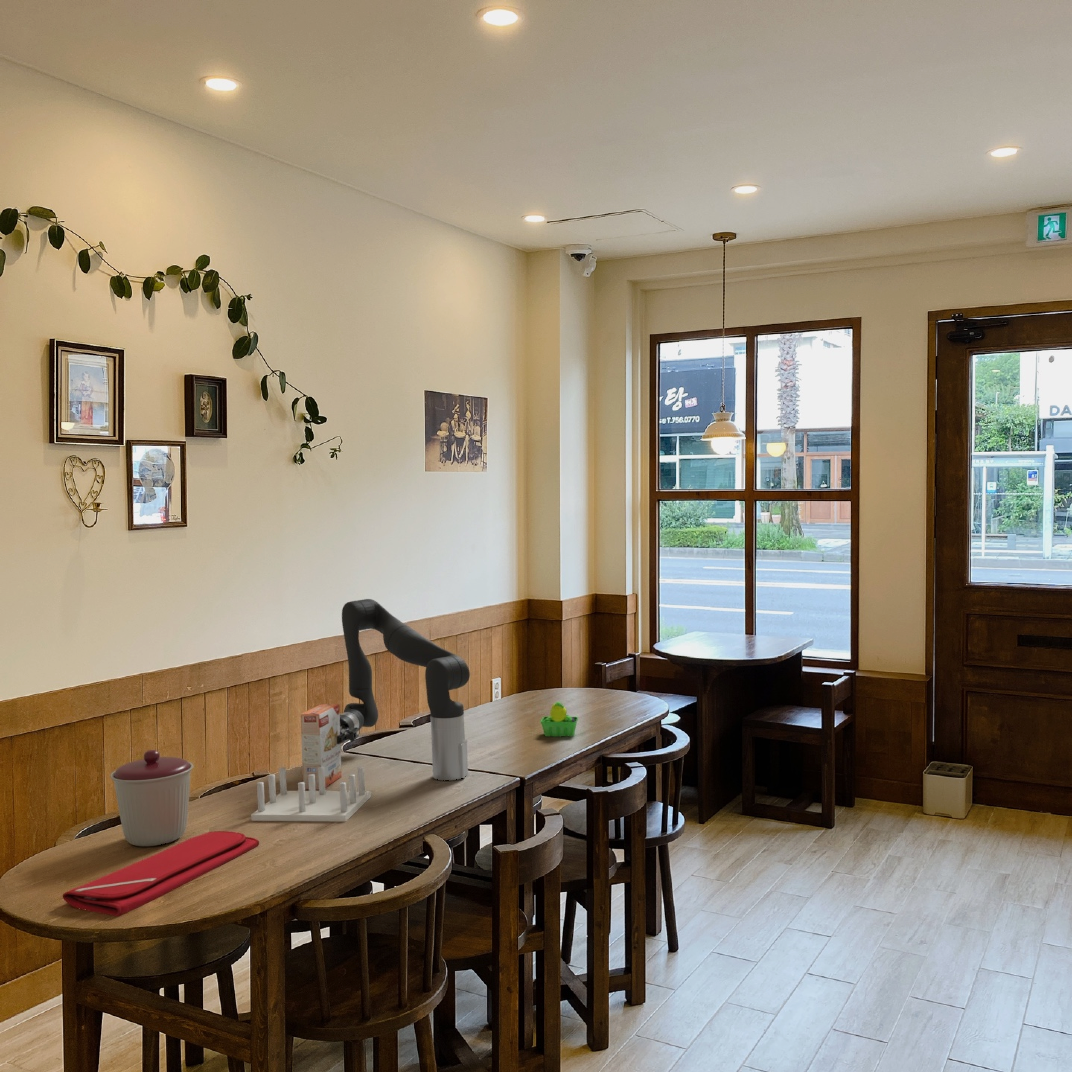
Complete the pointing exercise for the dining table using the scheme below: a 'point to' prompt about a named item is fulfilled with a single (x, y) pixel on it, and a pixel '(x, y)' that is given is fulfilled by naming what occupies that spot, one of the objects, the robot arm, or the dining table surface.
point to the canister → (153, 798)
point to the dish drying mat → (159, 873)
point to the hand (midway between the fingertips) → (323, 740)
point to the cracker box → (321, 743)
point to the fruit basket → (559, 722)
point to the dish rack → (310, 800)
